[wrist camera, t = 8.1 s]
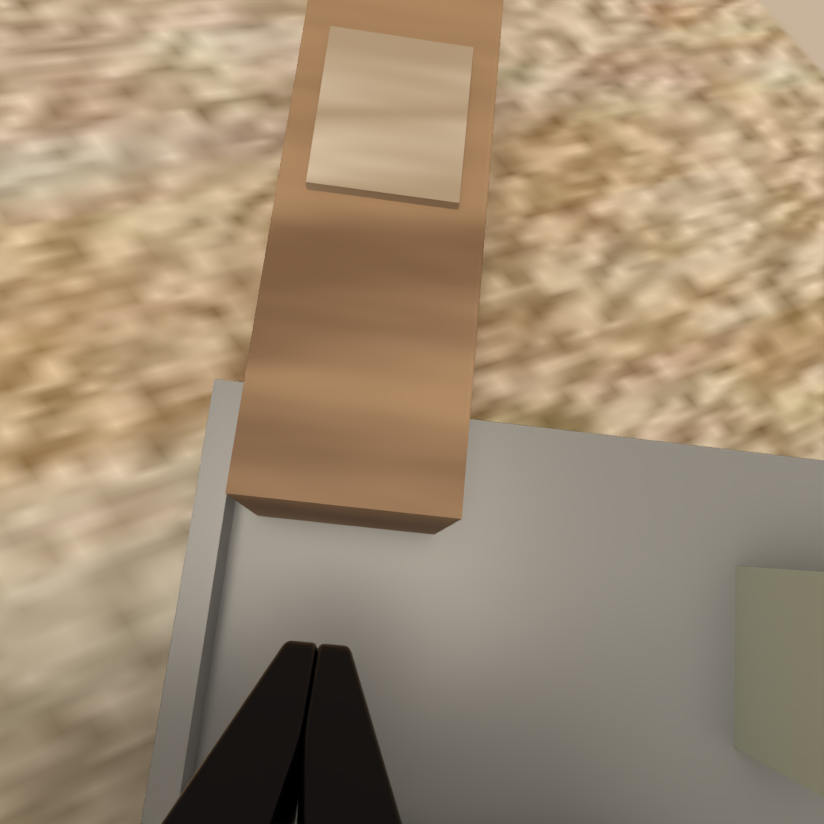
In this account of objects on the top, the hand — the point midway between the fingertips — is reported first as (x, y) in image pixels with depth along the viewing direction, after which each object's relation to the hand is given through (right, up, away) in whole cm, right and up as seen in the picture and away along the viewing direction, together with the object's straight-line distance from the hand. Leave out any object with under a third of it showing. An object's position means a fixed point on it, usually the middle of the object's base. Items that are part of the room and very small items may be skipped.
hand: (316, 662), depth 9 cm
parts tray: (+6, -3, +11) cm, 13 cm away
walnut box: (0, +1, +8) cm, 8 cm away
